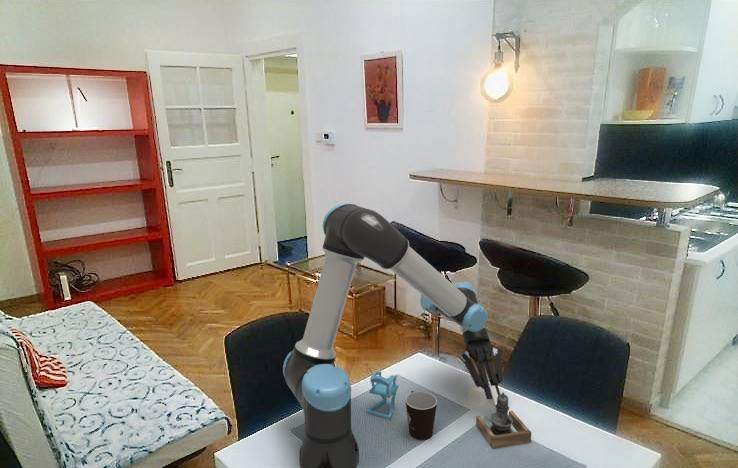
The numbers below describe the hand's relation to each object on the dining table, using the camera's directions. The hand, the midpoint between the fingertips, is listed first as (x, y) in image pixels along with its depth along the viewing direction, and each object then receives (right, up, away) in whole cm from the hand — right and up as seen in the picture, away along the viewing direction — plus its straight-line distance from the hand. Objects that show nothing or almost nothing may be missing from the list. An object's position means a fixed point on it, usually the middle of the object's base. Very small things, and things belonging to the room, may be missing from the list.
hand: (497, 410), depth 126 cm
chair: (-31, -4, +9) cm, 33 cm away
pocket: (0, -5, -2) cm, 6 cm away
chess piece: (0, -5, -1) cm, 5 cm away
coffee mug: (-21, -5, 0) cm, 22 cm away
